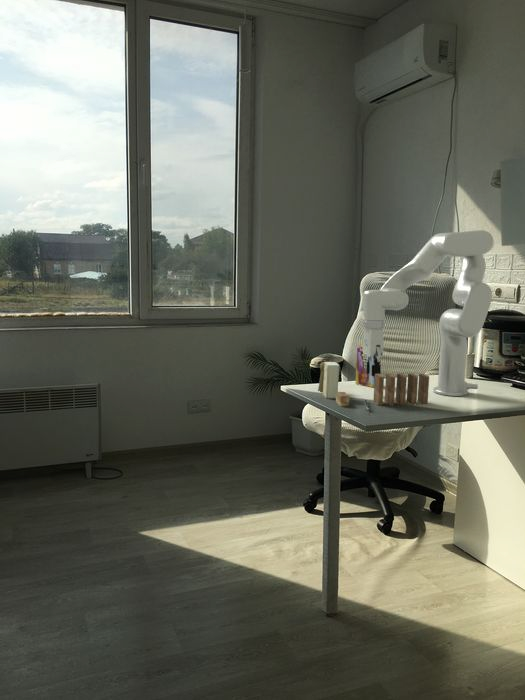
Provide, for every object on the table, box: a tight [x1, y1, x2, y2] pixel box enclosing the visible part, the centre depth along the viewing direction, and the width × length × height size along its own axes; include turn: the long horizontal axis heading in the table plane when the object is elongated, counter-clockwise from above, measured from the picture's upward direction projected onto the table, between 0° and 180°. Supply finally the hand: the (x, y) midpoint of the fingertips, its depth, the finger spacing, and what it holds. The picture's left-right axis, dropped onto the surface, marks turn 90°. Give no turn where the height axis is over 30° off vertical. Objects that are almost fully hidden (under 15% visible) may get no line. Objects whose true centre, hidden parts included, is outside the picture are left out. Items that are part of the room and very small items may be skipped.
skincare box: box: [322, 361, 340, 399], centre depth 211 cm, size 6×4×12 cm
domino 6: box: [417, 373, 430, 405], centre depth 204 cm, size 2×5×10 cm, turn 8°
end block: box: [335, 391, 350, 407], centre depth 201 cm, size 3×6×4 cm, turn 7°
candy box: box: [355, 345, 377, 388], centre depth 232 cm, size 9×4×15 cm, turn 39°
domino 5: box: [406, 373, 419, 405], centre depth 204 cm, size 2×5×10 cm, turn 7°
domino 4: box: [395, 373, 408, 406], centre depth 203 cm, size 2×5×10 cm, turn 8°
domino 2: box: [373, 374, 385, 406], centre depth 202 cm, size 2×5×10 cm, turn 7°
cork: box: [317, 361, 326, 393], centre depth 220 cm, size 6×6×11 cm
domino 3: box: [384, 373, 396, 406], centre depth 203 cm, size 2×5×10 cm, turn 7°
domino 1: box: [369, 357, 377, 385], centre depth 213 cm, size 2×5×10 cm, turn 7°
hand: (373, 373), depth 214 cm, fingers closed on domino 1, 4 cm apart
